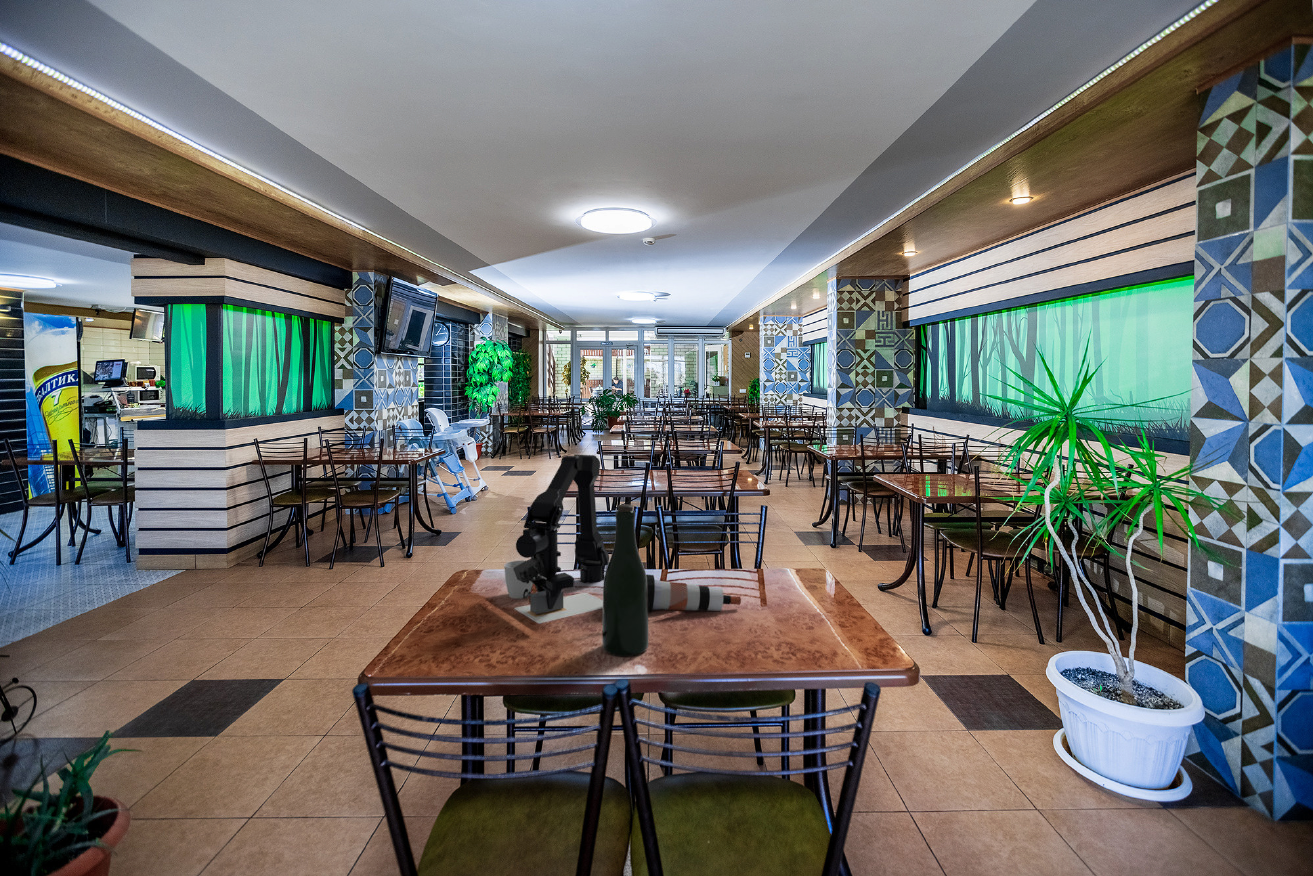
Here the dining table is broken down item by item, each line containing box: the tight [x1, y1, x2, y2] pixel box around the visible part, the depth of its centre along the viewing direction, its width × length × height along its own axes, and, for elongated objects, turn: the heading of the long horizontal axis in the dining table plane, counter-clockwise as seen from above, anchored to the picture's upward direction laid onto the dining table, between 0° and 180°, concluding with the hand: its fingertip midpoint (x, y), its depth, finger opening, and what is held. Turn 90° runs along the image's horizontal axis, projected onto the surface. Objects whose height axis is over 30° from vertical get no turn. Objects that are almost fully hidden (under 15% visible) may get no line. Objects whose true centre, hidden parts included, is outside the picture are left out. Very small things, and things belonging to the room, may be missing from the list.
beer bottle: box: [601, 503, 649, 657], centre depth 147 cm, size 10×10×33 cm
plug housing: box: [529, 590, 564, 615], centre depth 170 cm, size 8×3×4 cm, turn 127°
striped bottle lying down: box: [646, 574, 742, 614], centre depth 173 cm, size 10×34×10 cm, turn 94°
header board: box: [513, 592, 603, 625], centre depth 173 cm, size 22×14×4 cm, turn 127°
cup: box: [503, 559, 534, 600], centre depth 182 cm, size 8×8×10 cm
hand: (547, 607), depth 170 cm, fingers closed on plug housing, 3 cm apart
